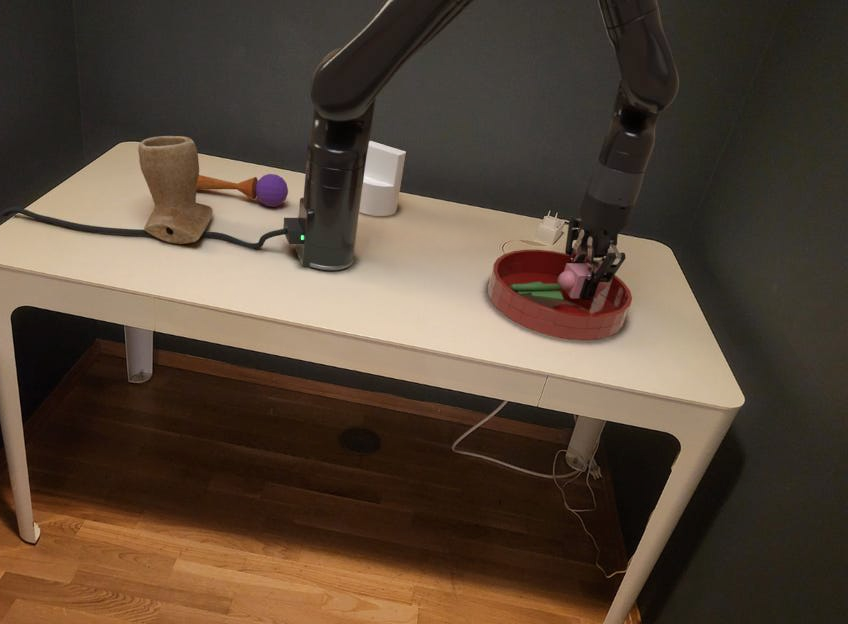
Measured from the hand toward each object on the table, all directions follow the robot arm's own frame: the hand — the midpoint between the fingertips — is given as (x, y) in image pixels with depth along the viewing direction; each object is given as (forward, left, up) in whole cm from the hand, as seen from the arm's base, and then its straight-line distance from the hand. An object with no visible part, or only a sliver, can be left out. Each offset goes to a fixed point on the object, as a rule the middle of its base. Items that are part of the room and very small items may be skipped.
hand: (578, 291), depth 123 cm
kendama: (-51, +42, -3) cm, 66 cm away
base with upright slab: (-24, +39, -3) cm, 46 cm away
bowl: (-4, 0, -2) cm, 4 cm away
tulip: (-4, 0, 0) cm, 4 cm away
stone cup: (-63, +29, -3) cm, 69 cm away
